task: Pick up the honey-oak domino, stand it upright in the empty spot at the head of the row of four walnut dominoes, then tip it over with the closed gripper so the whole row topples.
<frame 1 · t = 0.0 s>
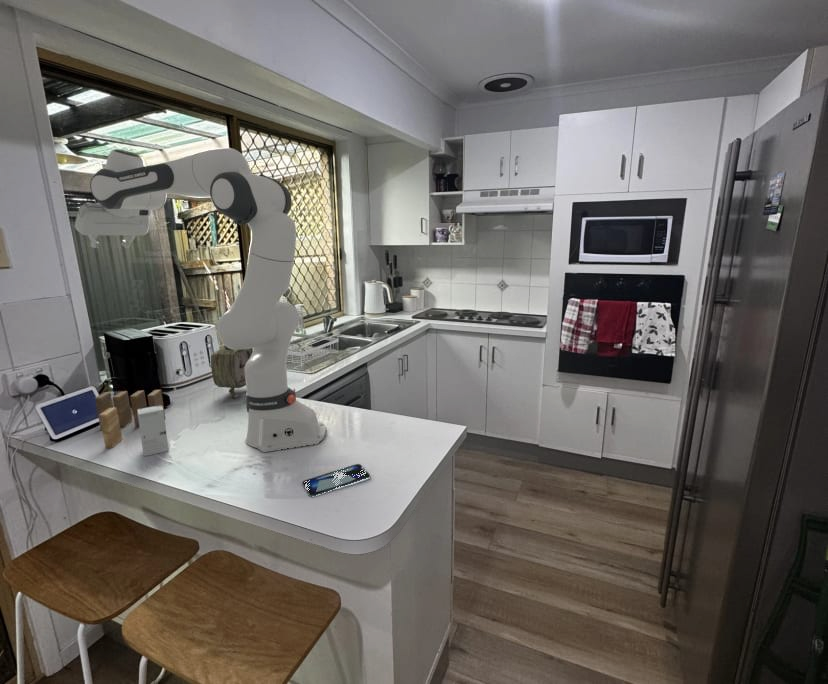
hand: (110, 246, 132), 54 cm above the counter, tool tilted 30°, fingers open, 8 cm apart
domino 3: (142, 423, 135), on the counter
oak domino: (114, 443, 122), on the counter
domino 4: (125, 424, 135), on the counter
domino 5: (108, 425, 134), on the counter
smartphone: (336, 482, 102), on the counter
skincare box: (156, 451, 118), on the counter
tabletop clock: (236, 393, 161), on the counter
domino 2: (159, 422, 136), on the counter
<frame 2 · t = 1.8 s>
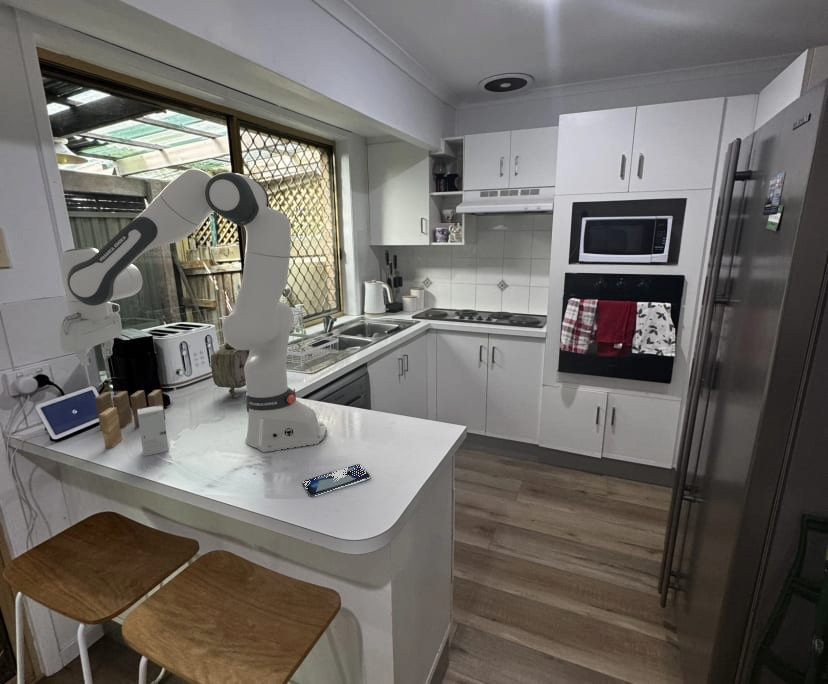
hand: (97, 360, 117), 24 cm above the counter, tool pointing down, fingers open, 8 cm apart
nothing on the counter moved.
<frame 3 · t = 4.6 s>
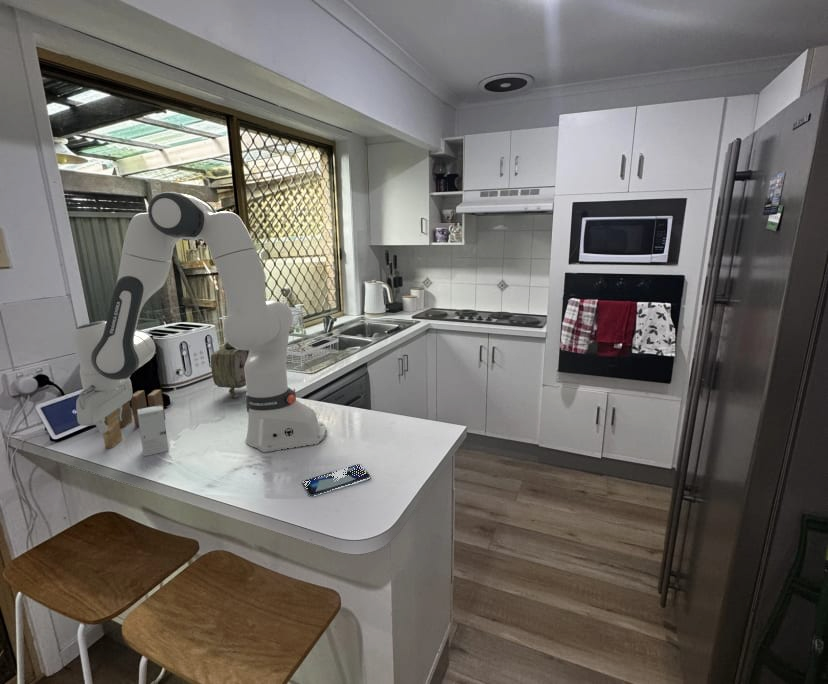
hand: (111, 427, 121), 5 cm above the counter, tool pointing down, fingers closed on oak domino, 5 cm apart
oak domino: (114, 443, 122), on the counter, touching gripper
everything else where it was.
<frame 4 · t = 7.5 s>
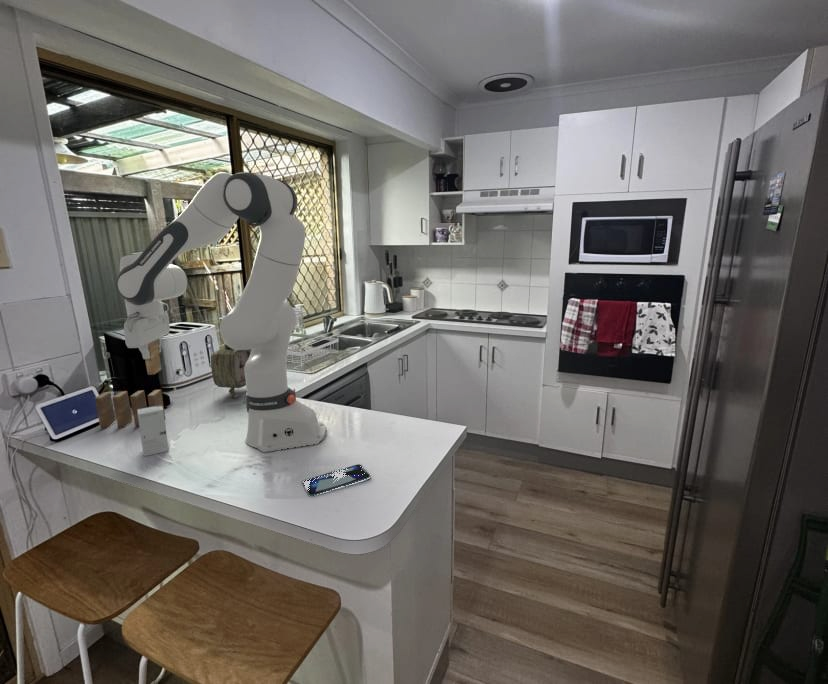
hand: (152, 355, 128), 23 cm above the counter, tool pointing down, fingers closed on oak domino, 5 cm apart
oak domino: (154, 372, 129), point 18 cm above the counter, touching gripper
everything else where it was.
when the fingers open (6 cm above the counter, at t = 10.7 s): oak domino stays where it is, on the counter.
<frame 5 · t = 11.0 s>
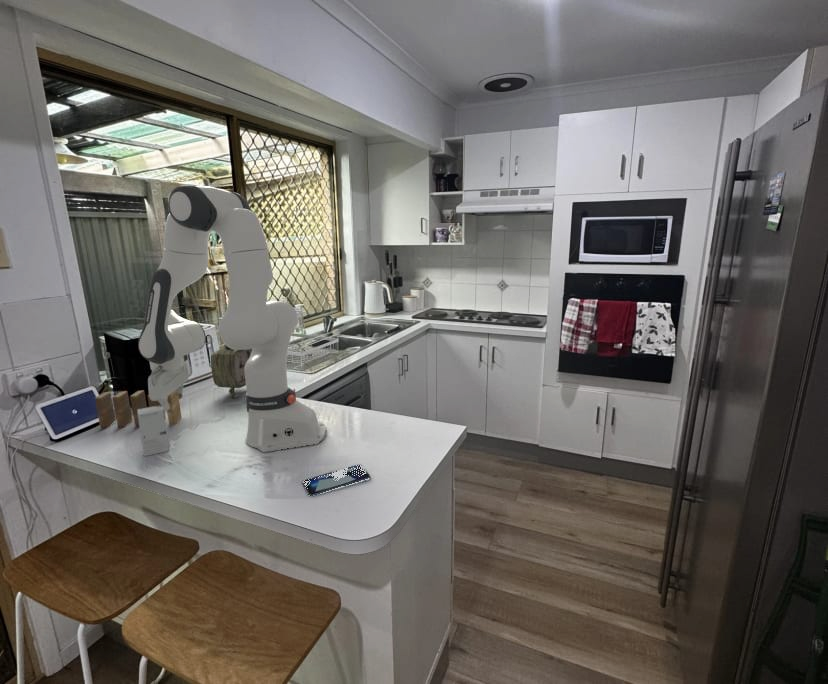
hand: (173, 403, 135), 6 cm above the counter, tool pointing down, fingers open, 8 cm apart
oak domino: (175, 421, 137), on the counter
everything else where it was.
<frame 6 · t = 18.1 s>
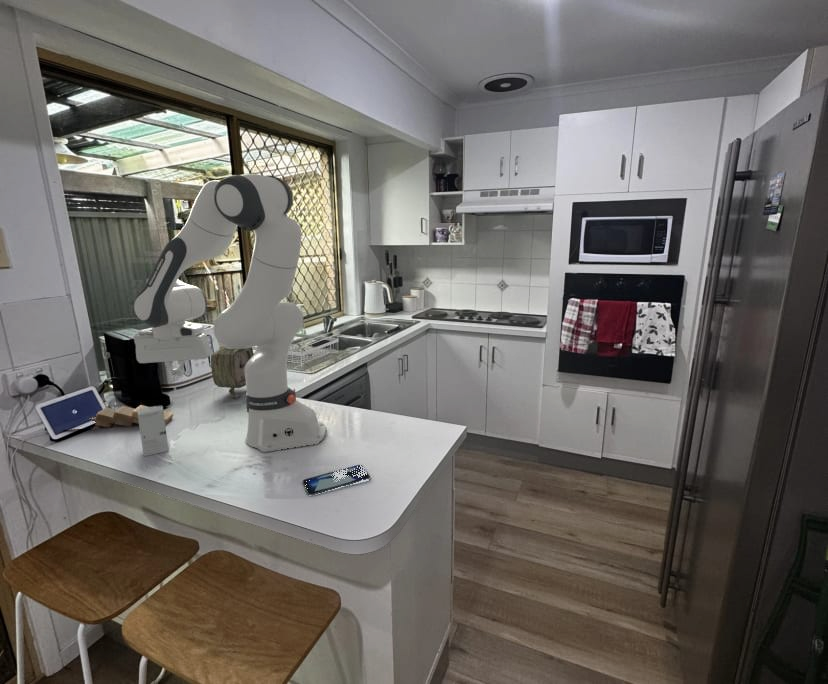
hand: (177, 374, 130), 16 cm above the counter, tool pointing down, fingers closed
domino 3: (135, 421, 135), point 1 cm above the counter, tilted 71°, touching domino 2
oak domino: (169, 419, 136), point 1 cm above the counter, tilted 70°, touching domino 2
domino 4: (113, 421, 134), point 1 cm above the counter, tilted 73°, touching domino 5
domino 5: (103, 424, 134), on the counter, tilted 90°, touching domino 4
domino 2: (151, 419, 136), point 1 cm above the counter, tilted 70°, touching domino 3, oak domino
everything else where it was.
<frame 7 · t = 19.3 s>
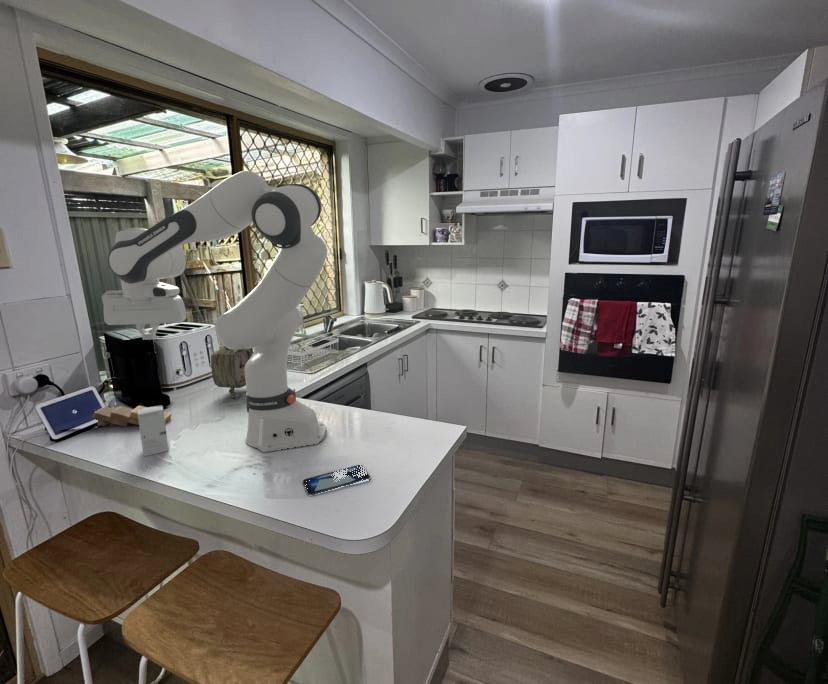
hand: (149, 339, 120), 29 cm above the counter, tool pointing down, fingers closed
domino 3: (131, 421, 135), point 1 cm above the counter, tilted 69°, touching domino 2
oak domino: (167, 419, 136), point 1 cm above the counter, tilted 71°
domino 4: (109, 420, 134), point 1 cm above the counter, tilted 74°
domino 5: (100, 424, 134), on the counter, tilted 90°
domino 2: (148, 420, 135), point 1 cm above the counter, tilted 69°, touching domino 3
everything else where it was.
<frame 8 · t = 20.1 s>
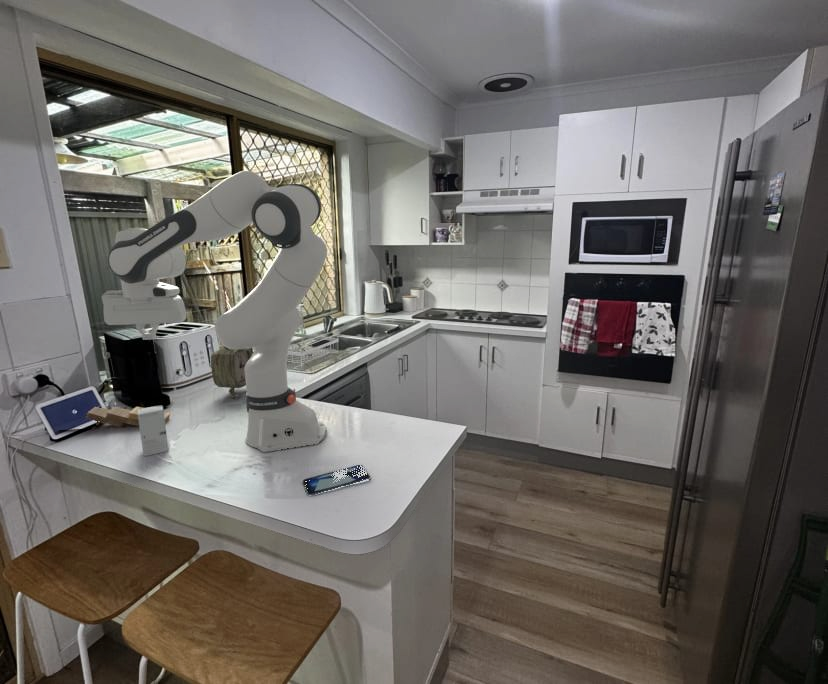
hand: (149, 339, 120), 29 cm above the counter, tool pointing down, fingers closed
domino 3: (126, 421, 135), point 1 cm above the counter, tilted 66°, touching domino 2
domino 4: (102, 419, 134), point 2 cm above the counter, tilted 90°
domino 2: (144, 420, 135), point 1 cm above the counter, tilted 68°, touching domino 3
at the end: domino 5 tilted 90°; oak domino inside the target area (1.6 cm from its centre), point 0.8 cm above the counter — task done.
